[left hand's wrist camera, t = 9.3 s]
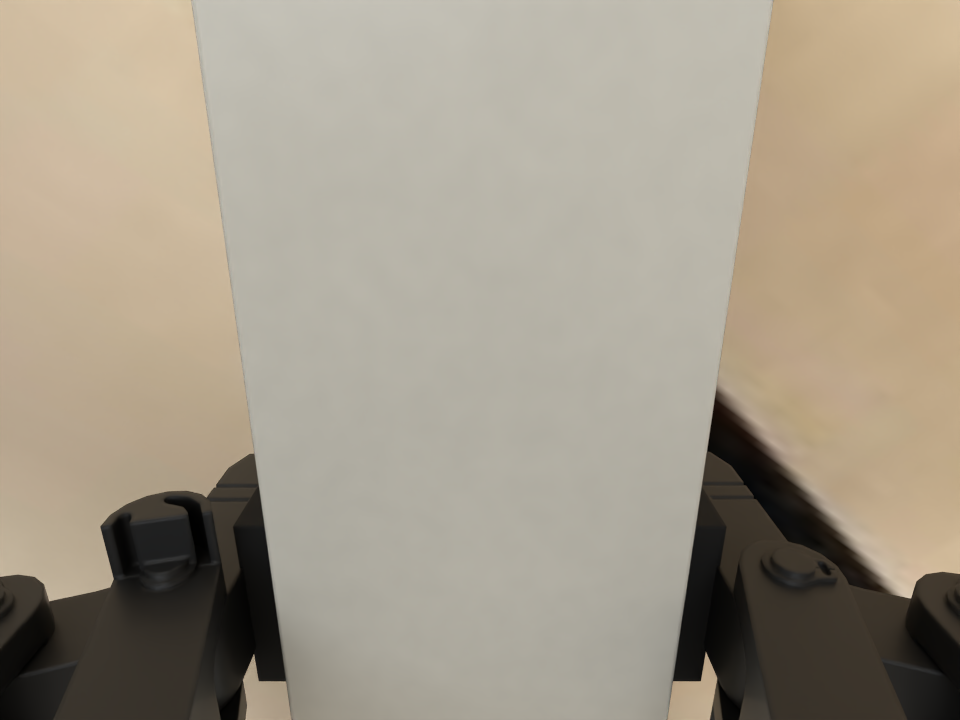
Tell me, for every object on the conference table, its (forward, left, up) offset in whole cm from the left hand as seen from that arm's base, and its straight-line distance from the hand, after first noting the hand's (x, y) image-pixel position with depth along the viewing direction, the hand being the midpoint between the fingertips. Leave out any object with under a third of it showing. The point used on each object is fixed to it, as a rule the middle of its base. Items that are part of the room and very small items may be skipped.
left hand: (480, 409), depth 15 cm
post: (+3, +30, -1) cm, 30 cm away
